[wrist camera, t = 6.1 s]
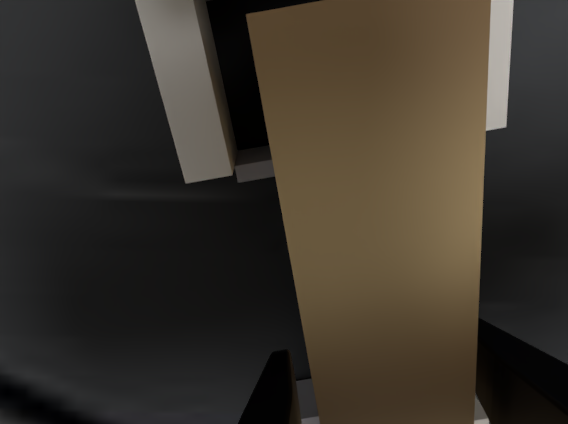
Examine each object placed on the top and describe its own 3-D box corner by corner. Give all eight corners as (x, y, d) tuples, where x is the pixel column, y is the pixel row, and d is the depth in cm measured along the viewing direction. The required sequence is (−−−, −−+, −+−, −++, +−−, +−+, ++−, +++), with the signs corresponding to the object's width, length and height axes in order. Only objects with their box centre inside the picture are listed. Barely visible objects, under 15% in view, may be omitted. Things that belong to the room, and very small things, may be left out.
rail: (402, 420, 15) (467, 588, 10) (324, 433, 15) (353, 607, 10) (377, 9, 9) (491, -31, 5) (253, 31, 9) (245, 14, 5)
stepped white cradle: (453, 482, 16) (557, 713, 10) (290, 510, 16) (306, 754, 10) (459, -223, 8) (986, -938, 2) (119, -160, 8) (-237, -700, 2)
